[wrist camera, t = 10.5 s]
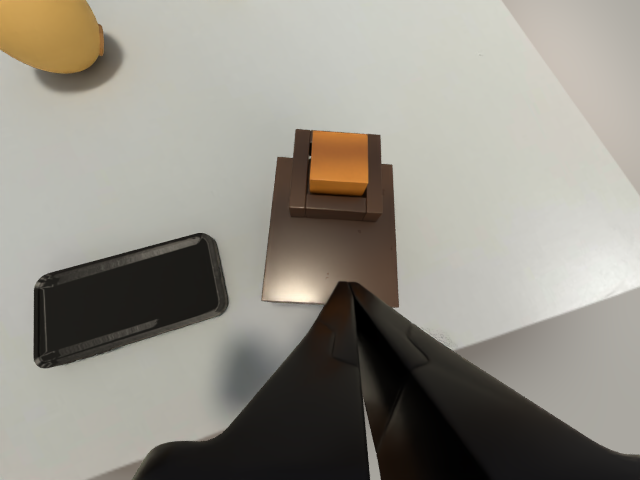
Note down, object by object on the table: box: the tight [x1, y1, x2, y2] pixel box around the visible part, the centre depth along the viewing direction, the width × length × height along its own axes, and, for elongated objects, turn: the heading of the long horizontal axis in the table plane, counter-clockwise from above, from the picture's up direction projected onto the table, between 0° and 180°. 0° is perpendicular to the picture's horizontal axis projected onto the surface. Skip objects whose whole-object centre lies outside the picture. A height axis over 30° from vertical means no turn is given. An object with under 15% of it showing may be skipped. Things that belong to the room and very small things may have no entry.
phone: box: [34, 233, 228, 368], centre depth 21 cm, size 8×1×15 cm
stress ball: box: [0, 0, 104, 74], centre depth 24 cm, size 10×10×10 cm
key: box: [310, 131, 368, 197], centre depth 17 cm, size 4×4×2 cm
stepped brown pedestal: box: [261, 129, 399, 308], centre depth 20 cm, size 14×10×7 cm
